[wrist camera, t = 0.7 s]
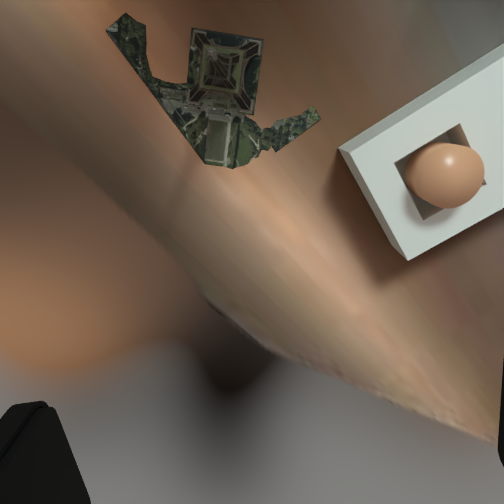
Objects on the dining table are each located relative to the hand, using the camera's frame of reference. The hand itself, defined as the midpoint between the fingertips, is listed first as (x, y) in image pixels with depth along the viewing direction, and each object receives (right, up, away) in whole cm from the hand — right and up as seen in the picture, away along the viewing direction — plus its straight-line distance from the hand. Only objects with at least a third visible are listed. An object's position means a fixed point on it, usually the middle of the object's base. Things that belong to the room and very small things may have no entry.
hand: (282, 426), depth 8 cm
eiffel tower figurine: (-3, +18, +23) cm, 29 cm away
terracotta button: (+13, +10, +23) cm, 28 cm away
